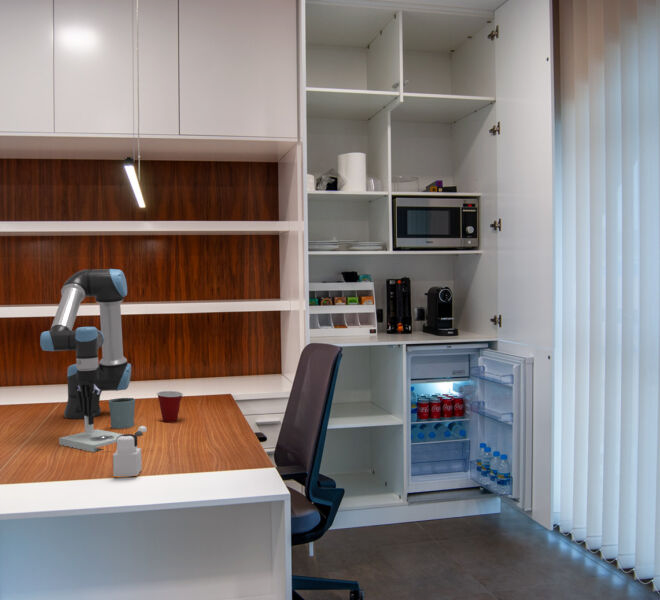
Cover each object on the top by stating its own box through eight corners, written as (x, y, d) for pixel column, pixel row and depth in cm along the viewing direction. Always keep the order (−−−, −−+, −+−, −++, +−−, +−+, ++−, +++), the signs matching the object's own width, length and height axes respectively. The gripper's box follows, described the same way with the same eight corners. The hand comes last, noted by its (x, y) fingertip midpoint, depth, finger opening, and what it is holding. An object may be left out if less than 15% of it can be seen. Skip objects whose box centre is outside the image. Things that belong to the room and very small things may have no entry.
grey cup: (114, 433, 255) (113, 403, 255) (105, 429, 263) (104, 399, 263) (139, 430, 261) (139, 399, 261) (130, 425, 270) (129, 396, 269)
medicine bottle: (118, 471, 206) (117, 433, 205) (141, 470, 206) (141, 432, 206) (112, 478, 198) (112, 438, 198) (137, 477, 199) (136, 437, 199)
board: (59, 444, 240) (59, 437, 240) (97, 435, 253) (97, 429, 253) (93, 452, 228) (93, 445, 228) (131, 442, 241) (131, 435, 241)
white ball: (135, 435, 253) (135, 426, 252) (143, 433, 255) (142, 424, 255) (141, 436, 251) (141, 427, 250) (149, 434, 253) (148, 425, 253)
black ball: (132, 439, 246) (132, 431, 246) (139, 437, 249) (139, 429, 249) (138, 440, 244) (137, 432, 244) (144, 438, 247) (144, 430, 247)
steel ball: (95, 445, 238) (95, 436, 237) (103, 442, 241) (103, 433, 240) (101, 447, 236) (102, 438, 235) (109, 444, 239) (110, 435, 238)
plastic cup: (177, 424, 271) (176, 395, 271) (152, 423, 273) (152, 394, 273) (188, 418, 282) (187, 390, 281) (164, 417, 284) (163, 390, 284)
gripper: (67, 369, 243) (69, 432, 244) (89, 371, 235) (91, 437, 236) (85, 366, 249) (87, 428, 250) (107, 369, 242) (109, 433, 243)
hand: (89, 432), depth 243 cm, fingers closed
